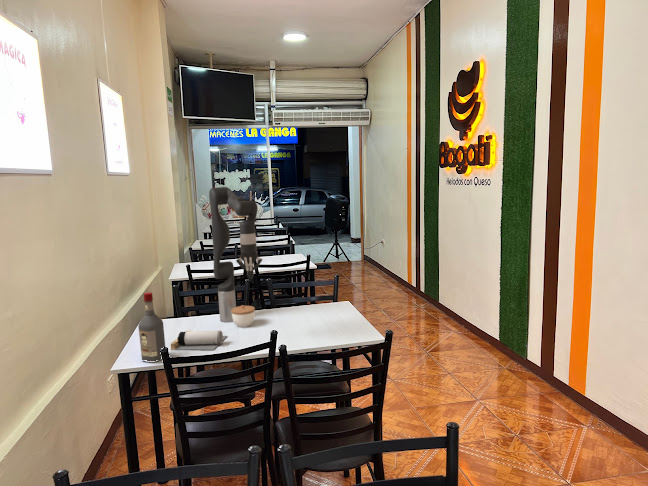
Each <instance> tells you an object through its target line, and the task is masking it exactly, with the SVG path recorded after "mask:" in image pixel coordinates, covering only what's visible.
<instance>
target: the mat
mask: <svg viewBox="0 0 648 486" xmlns="http://www.w3.org/2000/svg"><path fill="white" fill-rule="evenodd" d="M227 338H228V335H223V339H222V343H223V341H225V340H226V339H227ZM220 345H221V344H198V345H179V346H178V347H177V348H176V349H175V350H174V351H206V352H207V351H215V350H216V349H217V348H218V347H219V346H220Z"/></svg>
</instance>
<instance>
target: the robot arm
mask: <svg viewBox="0 0 648 486" xmlns="http://www.w3.org/2000/svg"><path fill="white" fill-rule="evenodd" d="M208 199H209V207H210V214H211V235H212V247H213V248H212V249H213V276H214V278H215V279H216V280H222V279H227V280H226V281H224V282H222V283H220V284H219V285H218V286H217V297H218V308H219V319H220V322H223V323H230V322H233V319H232V313H231V310H232V309H233V308H235V307H237V304H236V303H237V302H236V291H235V290H236V289H235V266H234V264H233V263H234V262H232V261H221V258H222V256H223V254H224V251H225V250H226V249H227V246H228V245H229V243H230V240H231V235H230V234H231V232H230V231H231V230H230V227H229V225H228V223H227V222H226V220H225V219H224V218H223V216H222V215H221V213H220V211H219V206H221V205H227V206H228V207H229V208H230V209H231V210H232V211H234V212H235V215H236V216H239V217H246V216H247V219H245V220H242V221H240V222H239V235H240V236H239V243H240V245H239V246H240V257H239V258H238V259H236V262H235V263H236V264H238V265H239V267H240V268H241V269H242V270H244V271H246V277H247V278H248V279H250V280H251V279H253V278H254V273H255V270H257V269H258V268H259V266H260V264H262V262H263V258H260V257H259V254H258V251H257V249H258V248H257V235H256V220H257V219H256V217H257V213H258V205H257V201H255V200H245V199H244V198H243V197H240V196H238V195H237V194H235V193H234V191H233V190H231V188H229V187H226V186H221V187H220V186H219V187H212V188H210V189H209V193H208ZM255 262H256V264H255Z"/></svg>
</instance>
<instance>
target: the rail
mask: <svg viewBox="0 0 648 486" xmlns="http://www.w3.org/2000/svg"><path fill="white" fill-rule="evenodd" d="M189 331H190V330H186V331H185V332H189ZM179 345H180V344H179V342H178V341H177V338H176V339H175V340H173V341H172V342H171V343H170V351H176V350H175V349H176V348H177V347H178V346H179Z"/></svg>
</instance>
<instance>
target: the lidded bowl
mask: <svg viewBox="0 0 648 486" xmlns="http://www.w3.org/2000/svg"><path fill="white" fill-rule="evenodd" d="M255 310H256V308H255V307H254V306H252V305H244V304H242V305H239V306H236V307H235V308H233V309H232V310H231V313H232V319H233V321H232V322H233V324H234V325H236V327H238V328H246V327H250V326H251V324H253V322H254V320H255V315H256V314H255V313H256V312H255Z"/></svg>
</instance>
